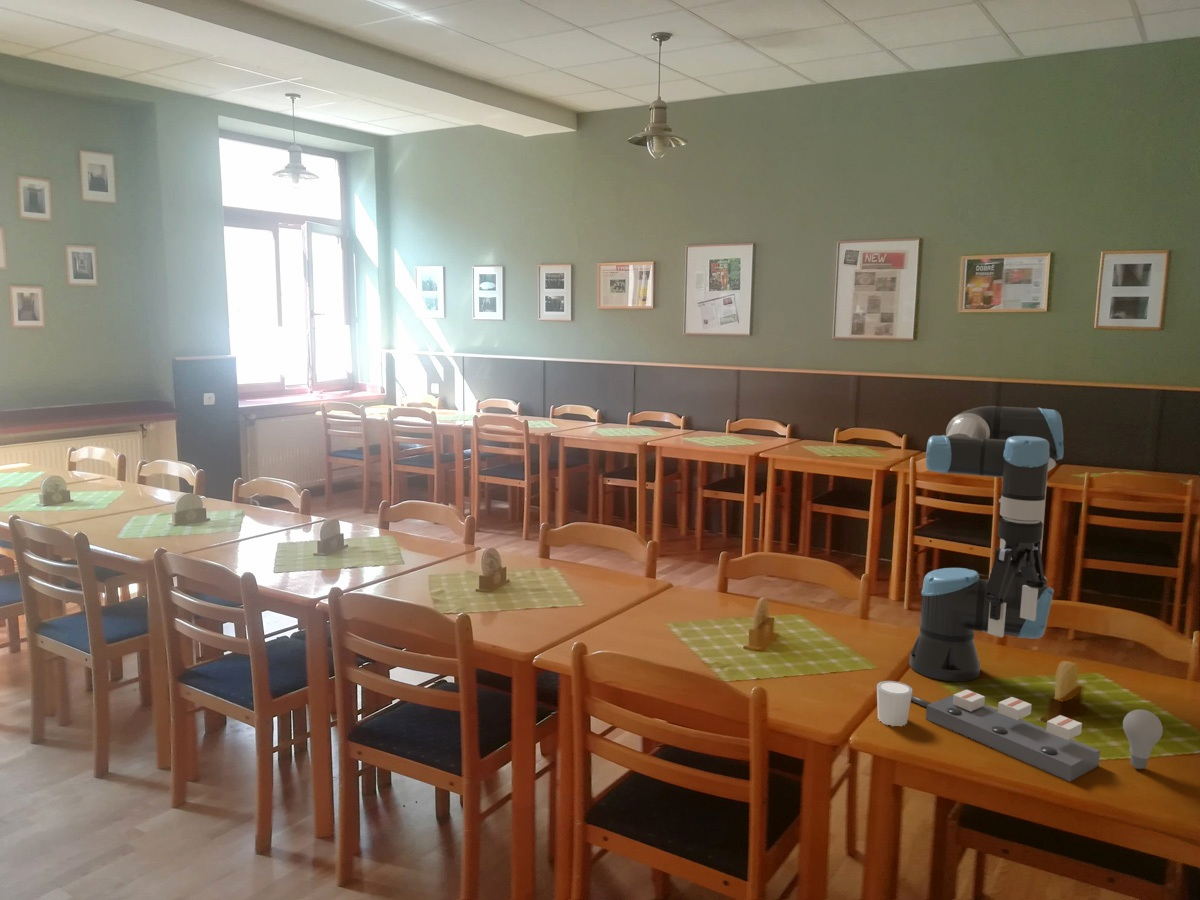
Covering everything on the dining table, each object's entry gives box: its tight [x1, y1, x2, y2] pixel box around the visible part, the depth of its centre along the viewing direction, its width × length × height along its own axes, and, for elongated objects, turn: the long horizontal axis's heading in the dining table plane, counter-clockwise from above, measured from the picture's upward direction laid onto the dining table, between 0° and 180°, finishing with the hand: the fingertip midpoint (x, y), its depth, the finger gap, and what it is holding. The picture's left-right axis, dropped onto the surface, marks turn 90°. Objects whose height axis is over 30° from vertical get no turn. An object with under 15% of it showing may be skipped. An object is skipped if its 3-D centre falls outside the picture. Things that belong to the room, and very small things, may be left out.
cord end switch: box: [952, 689, 986, 711], centre depth 176 cm, size 5×4×2 cm
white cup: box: [876, 680, 913, 727], centre depth 176 cm, size 7×7×7 cm
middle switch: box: [997, 696, 1033, 720], centre depth 168 cm, size 5×4×2 cm
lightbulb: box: [1122, 709, 1164, 770], centre depth 158 cm, size 6×6×11 cm
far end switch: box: [1045, 714, 1083, 740], centre depth 161 cm, size 5×4×2 cm
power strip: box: [911, 694, 1101, 783], centre depth 172 cm, size 10×39×3 cm, turn 35°
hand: (1011, 626), depth 169 cm, fingers open, 13 cm apart
